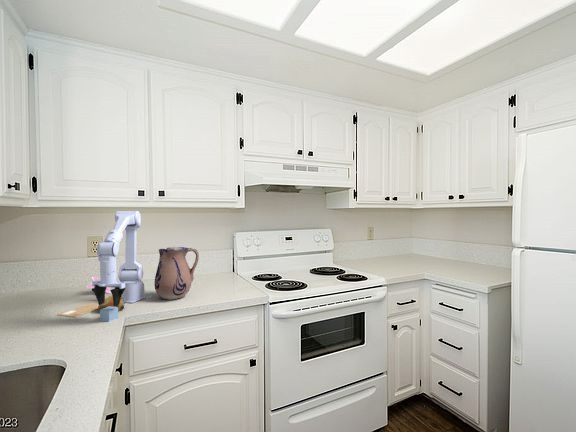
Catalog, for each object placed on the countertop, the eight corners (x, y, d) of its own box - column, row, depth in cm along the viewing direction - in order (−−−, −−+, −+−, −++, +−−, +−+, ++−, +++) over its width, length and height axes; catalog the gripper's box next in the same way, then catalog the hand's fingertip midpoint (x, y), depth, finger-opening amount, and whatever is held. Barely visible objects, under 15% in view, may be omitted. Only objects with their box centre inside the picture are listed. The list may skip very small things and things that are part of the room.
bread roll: (118, 313, 140) (113, 297, 141) (131, 307, 135) (126, 290, 137) (96, 320, 131) (91, 303, 132) (110, 314, 126) (104, 295, 128)
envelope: (90, 303, 142) (90, 302, 142) (107, 305, 140) (107, 304, 140) (57, 315, 127) (57, 314, 127) (75, 317, 124) (75, 316, 124)
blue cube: (109, 316, 125) (109, 306, 125) (118, 317, 124) (118, 307, 124) (100, 320, 121) (99, 309, 121) (109, 321, 120) (108, 310, 120)
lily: (81, 298, 154) (86, 283, 151) (89, 284, 164) (93, 270, 161) (107, 302, 159) (112, 288, 156) (113, 288, 169) (117, 275, 166)
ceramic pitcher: (153, 295, 156) (153, 247, 156) (195, 289, 166) (194, 244, 165) (155, 304, 141) (155, 251, 140) (201, 298, 150) (201, 248, 150)
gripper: (85, 272, 120) (85, 306, 120) (115, 274, 116) (115, 309, 117) (100, 269, 127) (100, 301, 127) (129, 271, 123) (129, 303, 123)
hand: (108, 304), depth 122 cm, fingers open, 7 cm apart
